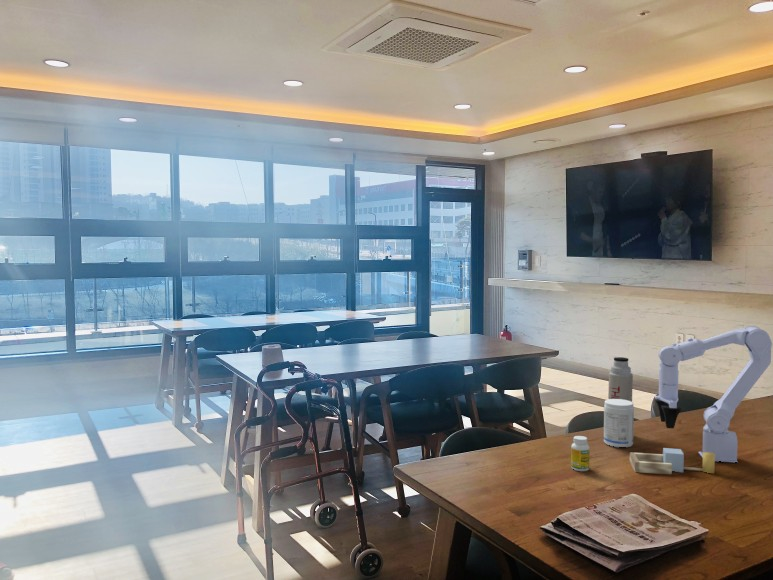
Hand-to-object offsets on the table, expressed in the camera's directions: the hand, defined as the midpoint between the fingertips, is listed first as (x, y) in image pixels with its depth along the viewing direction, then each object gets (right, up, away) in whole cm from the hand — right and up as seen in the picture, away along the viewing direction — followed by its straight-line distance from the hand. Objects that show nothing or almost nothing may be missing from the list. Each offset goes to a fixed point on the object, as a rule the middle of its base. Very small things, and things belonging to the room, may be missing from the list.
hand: (667, 424), depth 205 cm
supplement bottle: (-33, -11, -14) cm, 37 cm away
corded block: (0, -10, -15) cm, 18 cm away
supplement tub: (-12, -9, +10) cm, 18 cm away
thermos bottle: (-8, -8, +21) cm, 24 cm away
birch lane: (-11, -10, -13) cm, 20 cm away
